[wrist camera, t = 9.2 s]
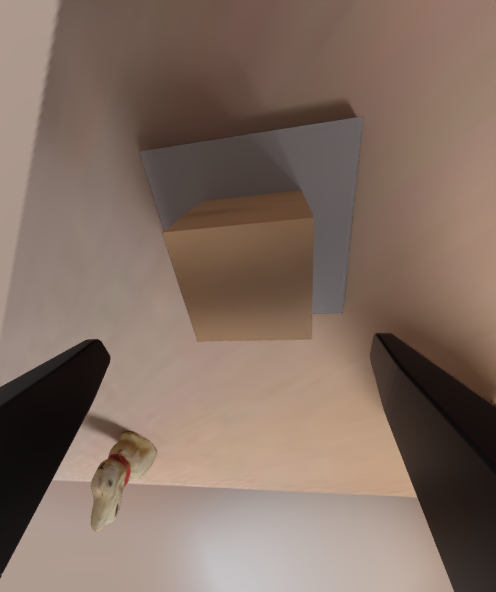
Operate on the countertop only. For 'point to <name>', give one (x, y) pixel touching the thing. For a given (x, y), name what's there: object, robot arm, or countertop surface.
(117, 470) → the chocolate bunny
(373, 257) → the countertop surface
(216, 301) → the cube
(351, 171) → the mat
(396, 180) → the countertop surface
